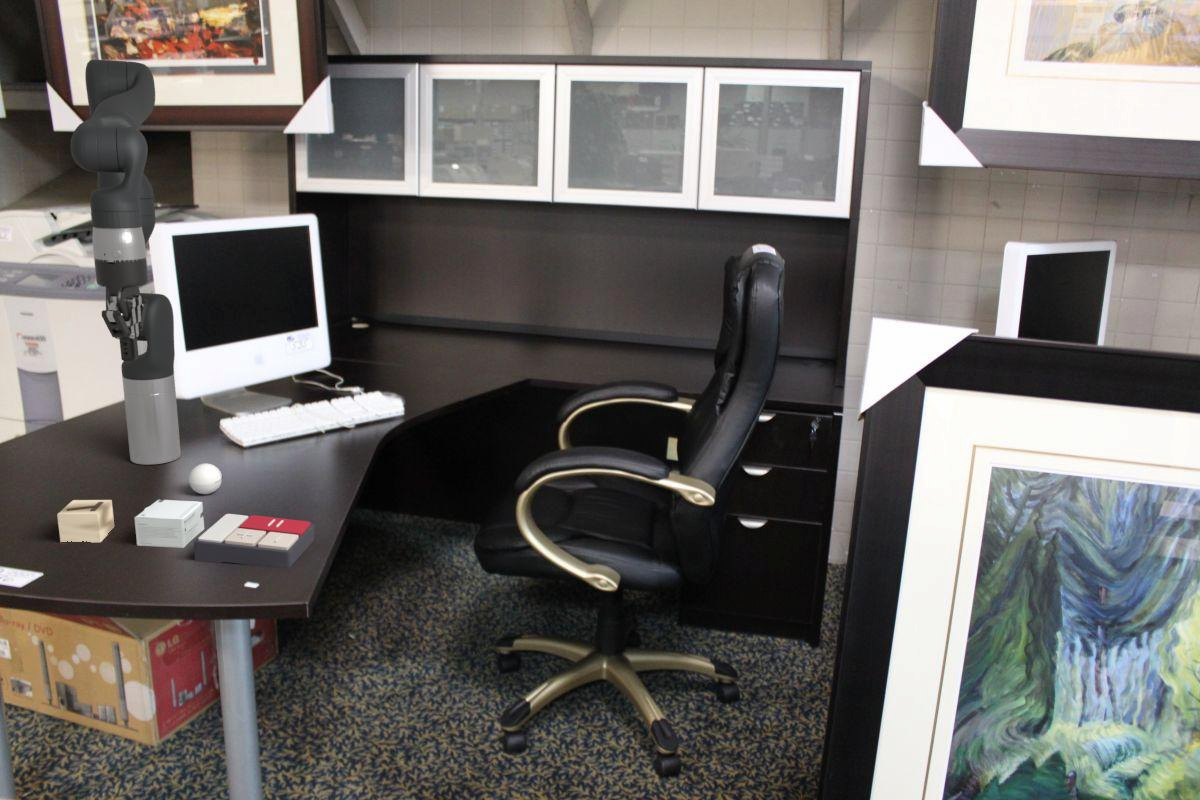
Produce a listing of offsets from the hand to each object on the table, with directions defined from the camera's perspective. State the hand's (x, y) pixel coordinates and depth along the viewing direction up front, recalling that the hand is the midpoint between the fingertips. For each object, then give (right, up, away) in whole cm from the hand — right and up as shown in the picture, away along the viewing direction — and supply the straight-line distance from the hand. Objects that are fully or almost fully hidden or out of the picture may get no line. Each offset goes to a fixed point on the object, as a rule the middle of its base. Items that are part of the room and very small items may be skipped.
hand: (130, 360), depth 156 cm
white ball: (+6, -24, +18) cm, 30 cm away
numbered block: (-5, -29, -3) cm, 29 cm away
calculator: (+23, -31, -5) cm, 39 cm away
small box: (+8, -29, -2) cm, 30 cm away
